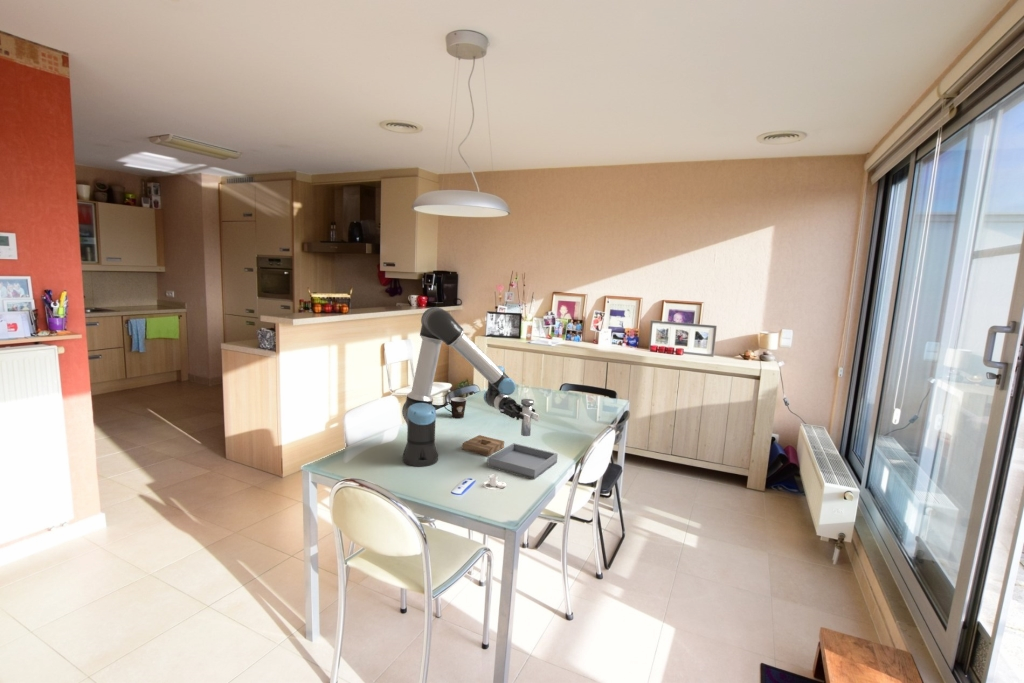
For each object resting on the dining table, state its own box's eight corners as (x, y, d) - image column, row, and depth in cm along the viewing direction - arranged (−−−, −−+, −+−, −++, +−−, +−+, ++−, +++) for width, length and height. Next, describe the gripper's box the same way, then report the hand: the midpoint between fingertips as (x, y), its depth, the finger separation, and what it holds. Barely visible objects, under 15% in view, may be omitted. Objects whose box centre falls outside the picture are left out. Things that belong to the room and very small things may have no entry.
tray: (534, 479, 201) (535, 469, 200) (487, 466, 211) (488, 457, 210) (557, 462, 220) (557, 453, 219) (513, 451, 230) (513, 443, 230)
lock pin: (528, 437, 210) (530, 402, 208) (517, 435, 213) (519, 400, 210) (533, 434, 215) (535, 400, 212) (523, 431, 217) (524, 398, 215)
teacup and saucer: (509, 487, 193) (509, 477, 192) (493, 493, 187) (494, 483, 187) (494, 480, 199) (494, 470, 198) (478, 485, 194) (479, 475, 193)
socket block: (488, 456, 223) (488, 449, 222) (462, 449, 229) (462, 443, 229) (504, 447, 235) (504, 441, 234) (479, 441, 241) (479, 435, 241)
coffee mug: (467, 415, 282) (467, 398, 281) (464, 419, 274) (464, 402, 272) (446, 413, 283) (447, 396, 282) (443, 418, 275) (443, 400, 273)
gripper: (521, 410, 232) (550, 425, 213) (488, 414, 224) (515, 430, 204) (521, 394, 231) (551, 407, 212) (489, 398, 223) (516, 412, 203)
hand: (533, 418), depth 208 cm, fingers closed on lock pin, 4 cm apart
